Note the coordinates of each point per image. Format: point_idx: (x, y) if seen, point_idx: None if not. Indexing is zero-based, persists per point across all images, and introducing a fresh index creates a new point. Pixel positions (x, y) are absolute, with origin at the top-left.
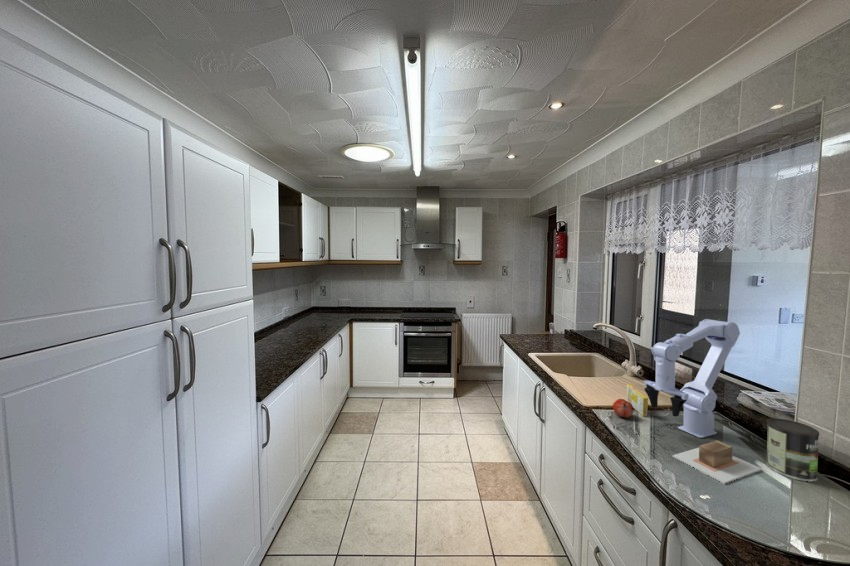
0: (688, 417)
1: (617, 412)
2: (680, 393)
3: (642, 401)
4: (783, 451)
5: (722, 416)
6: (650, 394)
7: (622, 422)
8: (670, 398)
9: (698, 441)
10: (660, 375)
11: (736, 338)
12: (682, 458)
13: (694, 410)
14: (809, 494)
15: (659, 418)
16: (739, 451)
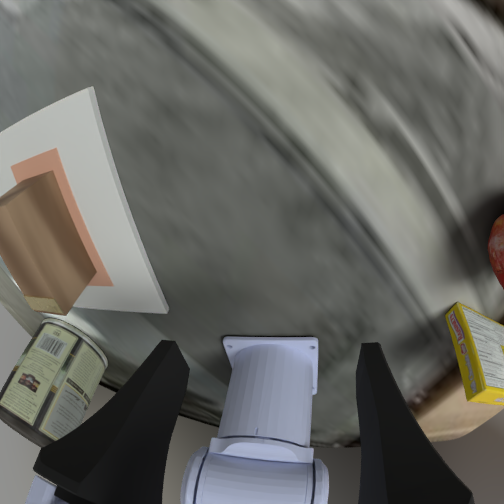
0: (266, 400)
1: None
2: None
3: (484, 368)
4: (22, 364)
5: (314, 443)
6: (388, 478)
7: (486, 149)
8: (79, 484)
9: (206, 312)
10: None
11: None
12: (66, 115)
13: (234, 442)
14: (5, 288)
15: (406, 343)
16: (142, 347)
